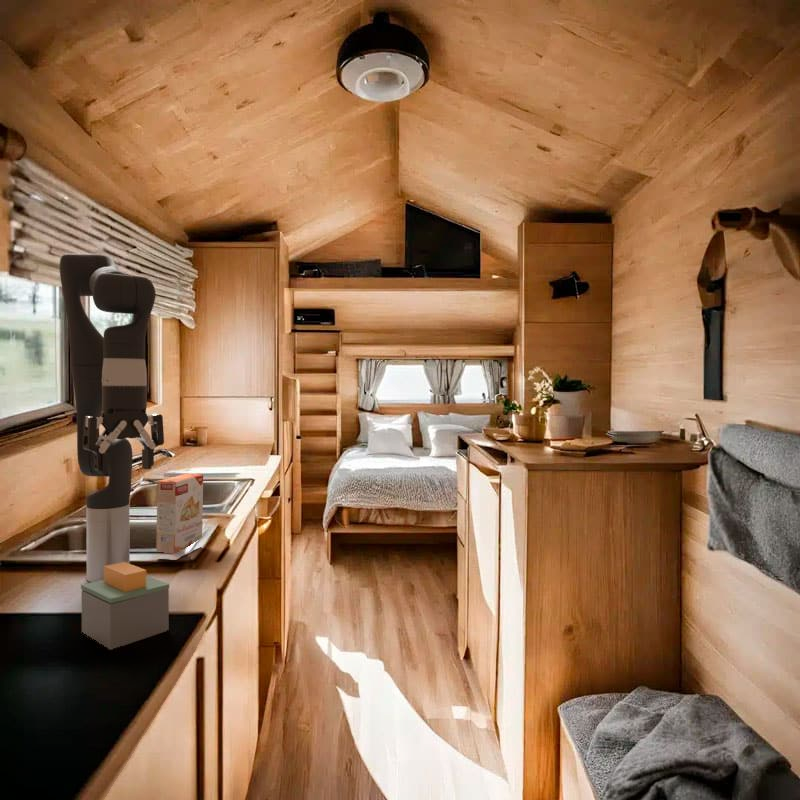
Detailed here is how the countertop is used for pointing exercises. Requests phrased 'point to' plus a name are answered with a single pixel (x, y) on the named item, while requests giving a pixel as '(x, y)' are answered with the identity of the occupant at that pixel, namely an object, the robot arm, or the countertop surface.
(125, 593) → the lid
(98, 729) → the countertop surface
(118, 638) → the storage box
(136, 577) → the orange rectangular block
